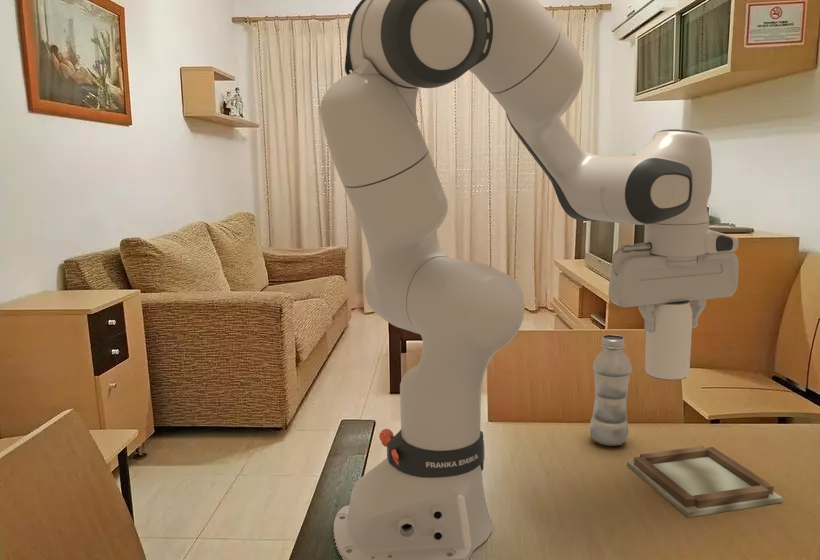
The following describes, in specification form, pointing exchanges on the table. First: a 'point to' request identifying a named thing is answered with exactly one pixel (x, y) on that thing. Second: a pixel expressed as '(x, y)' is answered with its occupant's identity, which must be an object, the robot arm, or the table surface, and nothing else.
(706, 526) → the table surface
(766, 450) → the table surface
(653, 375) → the can
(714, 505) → the wooden picture frame
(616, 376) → the plastic bottle
